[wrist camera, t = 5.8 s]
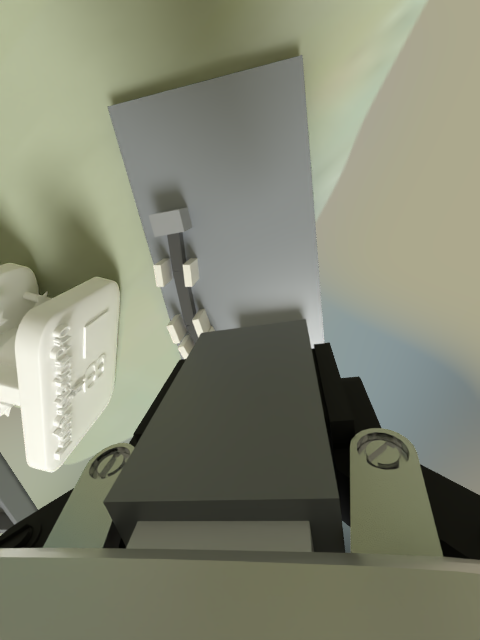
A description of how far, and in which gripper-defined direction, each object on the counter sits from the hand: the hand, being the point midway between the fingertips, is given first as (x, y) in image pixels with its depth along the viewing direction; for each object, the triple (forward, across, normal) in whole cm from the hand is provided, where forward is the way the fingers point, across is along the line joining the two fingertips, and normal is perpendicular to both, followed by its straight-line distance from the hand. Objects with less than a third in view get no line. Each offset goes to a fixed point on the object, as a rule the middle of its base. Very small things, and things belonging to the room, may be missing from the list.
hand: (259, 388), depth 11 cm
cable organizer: (+17, +21, +2) cm, 27 cm away
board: (+17, +3, -1) cm, 17 cm away
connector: (+1, 0, 0) cm, 1 cm away
